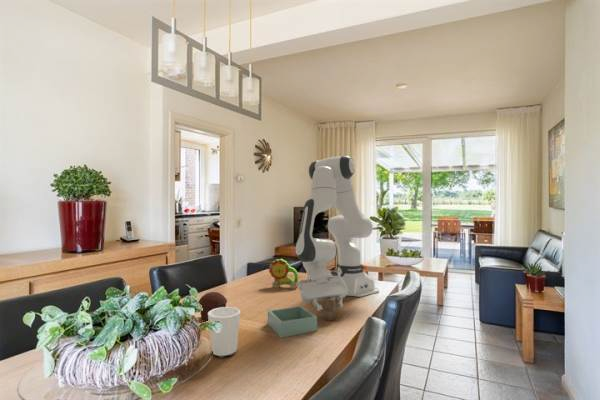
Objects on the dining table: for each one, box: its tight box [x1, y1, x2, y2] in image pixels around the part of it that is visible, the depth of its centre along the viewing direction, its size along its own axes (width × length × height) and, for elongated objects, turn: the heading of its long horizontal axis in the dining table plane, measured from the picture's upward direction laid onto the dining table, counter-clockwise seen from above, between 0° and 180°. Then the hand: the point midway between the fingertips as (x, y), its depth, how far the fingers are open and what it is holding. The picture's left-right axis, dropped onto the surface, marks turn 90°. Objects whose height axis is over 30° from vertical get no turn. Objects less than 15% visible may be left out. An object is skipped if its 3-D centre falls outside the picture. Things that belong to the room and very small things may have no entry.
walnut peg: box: [324, 298, 336, 322], centre depth 131 cm, size 4×4×8 cm
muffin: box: [198, 291, 228, 322], centre depth 132 cm, size 12×11×10 cm
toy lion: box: [268, 258, 300, 290], centre depth 178 cm, size 16×6×15 cm, turn 77°
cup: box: [208, 306, 241, 359], centre depth 102 cm, size 10×10×13 cm
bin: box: [267, 305, 318, 338], centre depth 123 cm, size 14×14×5 cm
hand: (330, 308), depth 130 cm, fingers open, 8 cm apart
